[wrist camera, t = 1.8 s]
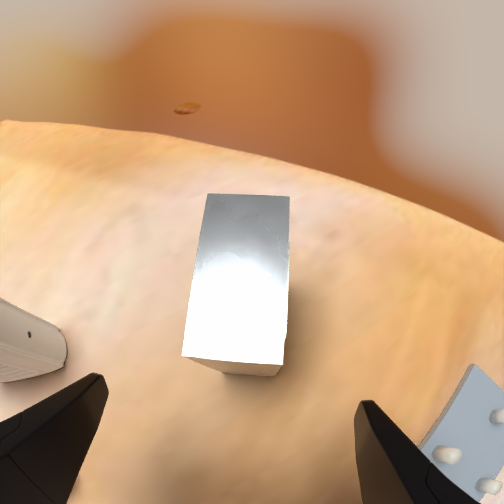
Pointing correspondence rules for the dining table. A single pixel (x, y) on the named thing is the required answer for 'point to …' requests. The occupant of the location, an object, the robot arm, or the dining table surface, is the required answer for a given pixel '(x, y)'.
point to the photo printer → (28, 344)
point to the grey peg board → (470, 435)
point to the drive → (240, 285)
